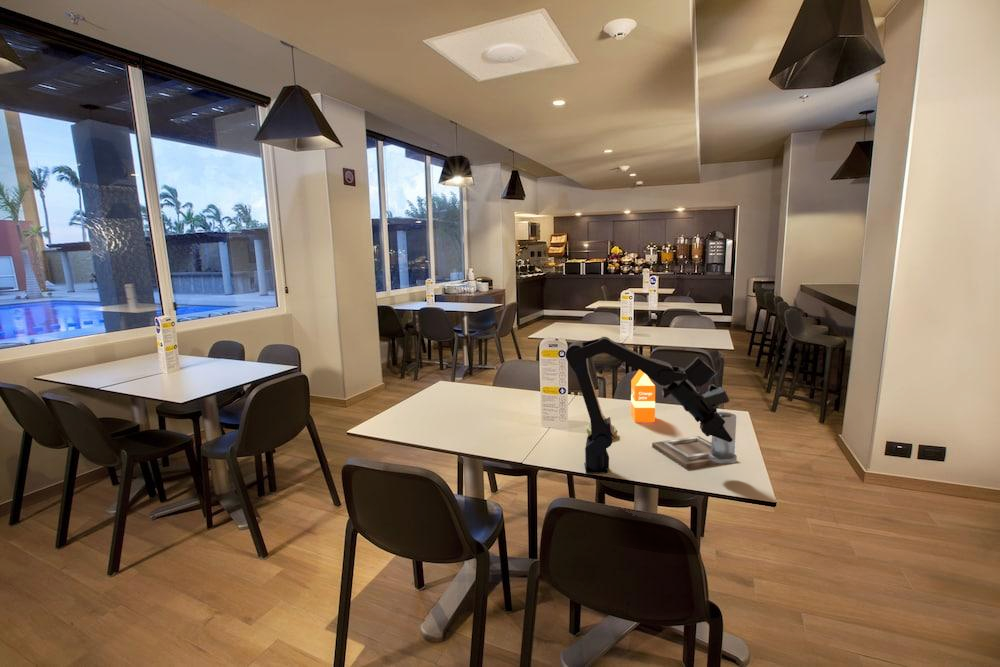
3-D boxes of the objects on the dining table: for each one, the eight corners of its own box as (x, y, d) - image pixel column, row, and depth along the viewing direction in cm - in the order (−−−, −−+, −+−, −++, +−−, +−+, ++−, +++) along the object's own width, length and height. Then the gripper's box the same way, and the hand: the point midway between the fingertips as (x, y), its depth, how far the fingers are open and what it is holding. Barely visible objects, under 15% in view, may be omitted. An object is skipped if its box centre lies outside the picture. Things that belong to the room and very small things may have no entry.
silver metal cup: (713, 464, 133) (715, 419, 131) (705, 453, 140) (706, 410, 138) (740, 464, 132) (743, 419, 130) (730, 453, 139) (732, 410, 137)
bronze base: (685, 469, 143) (686, 461, 143) (652, 447, 160) (652, 439, 160) (736, 460, 147) (736, 453, 147) (698, 440, 165) (698, 433, 164)
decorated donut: (606, 443, 165) (606, 433, 164) (580, 436, 172) (580, 426, 172) (622, 435, 172) (622, 425, 171) (597, 428, 180) (597, 419, 179)
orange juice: (650, 415, 192) (651, 366, 189) (655, 422, 183) (656, 371, 180) (630, 415, 193) (630, 366, 190) (634, 422, 184) (634, 372, 181)
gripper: (717, 387, 124) (762, 430, 123) (704, 370, 142) (743, 408, 141) (684, 415, 127) (727, 457, 126) (675, 395, 145) (713, 432, 144)
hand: (728, 436), depth 135 cm, fingers closed on silver metal cup, 6 cm apart
